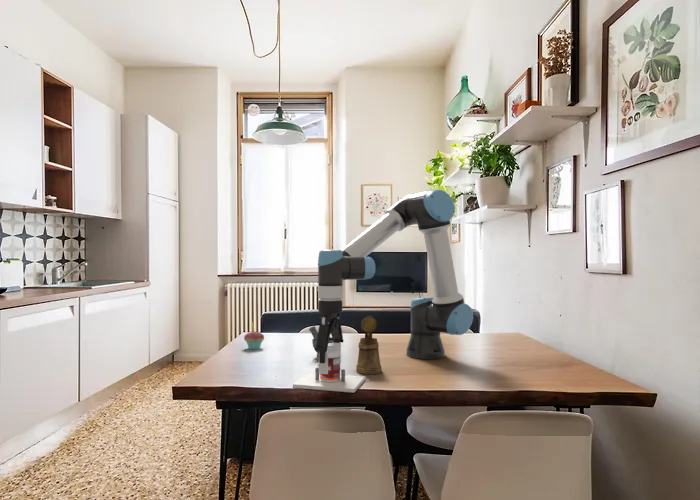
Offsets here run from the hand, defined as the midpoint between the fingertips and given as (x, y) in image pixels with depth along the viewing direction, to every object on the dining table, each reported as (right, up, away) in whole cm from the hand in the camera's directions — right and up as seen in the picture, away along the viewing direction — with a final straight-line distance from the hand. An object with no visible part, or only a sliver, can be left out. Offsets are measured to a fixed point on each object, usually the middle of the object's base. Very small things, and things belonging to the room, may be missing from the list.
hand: (330, 368), depth 136 cm
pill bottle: (0, -4, 0) cm, 4 cm away
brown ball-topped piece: (+13, -5, +17) cm, 22 cm away
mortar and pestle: (-5, -6, +37) cm, 38 cm away
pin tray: (0, -5, 0) cm, 5 cm away
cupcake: (-35, -6, +54) cm, 65 cm away
